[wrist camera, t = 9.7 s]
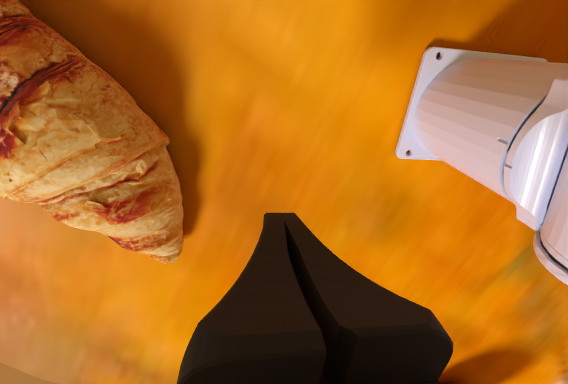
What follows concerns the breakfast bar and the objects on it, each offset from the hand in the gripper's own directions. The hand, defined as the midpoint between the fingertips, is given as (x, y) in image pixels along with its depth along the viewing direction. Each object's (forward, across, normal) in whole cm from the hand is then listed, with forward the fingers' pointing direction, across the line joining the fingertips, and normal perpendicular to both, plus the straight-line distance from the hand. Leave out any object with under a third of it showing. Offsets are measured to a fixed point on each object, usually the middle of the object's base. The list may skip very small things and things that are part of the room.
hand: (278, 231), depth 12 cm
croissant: (+11, +12, 0) cm, 16 cm away
